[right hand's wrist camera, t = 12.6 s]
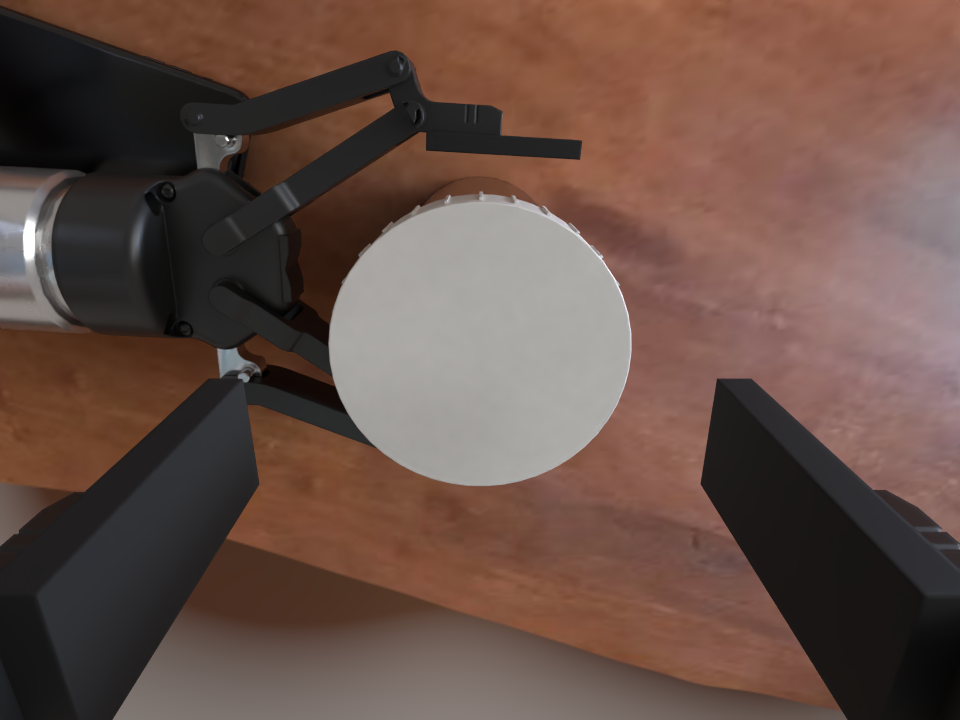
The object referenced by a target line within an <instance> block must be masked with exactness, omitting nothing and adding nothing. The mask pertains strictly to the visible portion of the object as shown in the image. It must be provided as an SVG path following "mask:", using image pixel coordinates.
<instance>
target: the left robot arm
mask: <svg viewBox="0 0 960 720" xmlns="http://www.w3.org/2000/svg"><path fill="white" fill-rule="evenodd" d="M388 93H390V95H391V98H392V101H393V104H394V107H395V108H394V109H392V110H391V111H389V112H388V113H386V114H385V115H383V116H382V117H380V118H379V119H377V120H376V121H374V122H373V123H371V124H370V125H368V126H367V127H365V128H364V129H362V130H360V131H359V132H357V133H356V134H354V135H353V136H351V137H350V138H348V139H347V140H345V141H344V142H342V143H341V144H339V145H338V146H336V147H335V148H333V149H332V150H330V151H329V152H327V153H326V154H324V155H323V156H321V157H320V158H318V159H317V160H315V161H314V162H312V163H310V164H309V165H307V166H306V167H304V168H303V169H301V170H300V171H298V172H297V173H295V174H294V175H292V176H291V177H289V178H288V179H286V180H285V181H283V182H281V183H279V184H277V185H275V186H274V187H272V188H270V189H269V190H267V191H266V192H264V193H263V194H261V193H260V192H259V191H257V190H256V189H255V188H253V187H252V186H251V185H249V184H248V183H247V182H246V181H244V180H243V179H242V178H240V177H239V176H238V175H236V174H235V173H234V172H232V171H231V170H229V169H228V162H229V160H230V158H231V157H232V156H234V155H236V154H240V153H243V152H245V151H246V150H247V148H248V146H249V135H259V134H266V133H270V132H274V131H277V130H280V129H283V128H286V127H289V126H292V125H295V124H298V123H301V122H304V121H307V120H310V119H313V118H316V117H319V116H322V115H325V114H328V113H331V112H334V111H337V110H340V109H343V108H346V107H349V106H352V105H355V104H358V103H361V102H364V101H367V100H370V99H373V98H376V97H379V96H382V95H385V94H388ZM502 113H503V111H501V110H499V109H497V108H495V107H493V106H488V105H472V104H456V103H439V102H432V101H429V100H428V99H427V98H426V97H425V96H424V94H423V92H422V90H421V87H420V84H419V81H418V77H417V74H416V68H415V66H414V64H413V63H412V62H411V61H410V60H409V59H408V57H407V56H405V55H404V54H403V53H402V52H399V51H390V52H387V53H384V54H381V55H378V56H375V57H372V58H369V59H366V60H363V61H360V62H358V63H355V64H352V65H349V66H346V67H343V68H340V69H337V70H334V71H331V72H328V73H325V74H323V75H320V76H317V77H314V78H311V79H308V80H305V81H302V82H299V83H296V84H293V85H290V86H288V87H285V88H282V89H279V90H276V91H273V92H270V93H267V94H264V95H261V96H258V97H256V98H253V99H250V100H247V101H244V102H241V103H238V104H235V105H226V104H210V103H187V104H186V105H184V106H183V108H182V109H181V111H180V119H181V122H182V124H183V126H184V127H185V128H186V129H187V130H188V131H190V132H192V133H194V142H195V151H196V160H197V169H196V170H194V171H192V172H191V173H189V174H187V175H184V176H169V175H152V174H135V173H118V172H92V173H89V174H86V173H83V172H80V171H78V170H67V169H48V168H30V167H11V166H0V329H15V330H31V331H46V332H61V333H90V332H93V331H94V332H97V333H100V334H105V335H121V336H140V337H159V338H194V339H198V340H201V341H203V342H206V343H208V344H209V345H211V346H213V347H215V348H217V353H218V362H219V371H220V379H243V383H244V389H245V395H246V402H247V404H248V405H260V406H263V407H266V408H269V409H271V410H274V411H277V412H279V413H282V414H285V415H288V416H290V417H293V418H296V419H299V420H301V421H304V422H307V423H309V424H312V425H315V426H318V427H320V428H323V429H326V430H329V431H331V432H334V433H337V434H339V435H342V436H345V437H348V438H350V439H353V440H356V441H359V442H361V443H364V444H367V445H369V446H372V447H375V446H374V445H373V444H372V443H371V442H370V441H369V440H368V439H367V438H366V437H365V435H364V434H363V433H362V432H361V431H360V430H359V429H358V427H357V426H356V425H355V423H354V422H353V420H352V419H351V417H350V416H349V414H348V413H347V411H346V409H345V407H344V405H343V403H342V401H341V399H340V397H339V394H338V391H337V389H336V387H335V386H332V385H329V384H327V383H324V382H321V381H319V380H316V379H313V378H311V377H308V376H305V375H303V374H300V373H298V372H295V371H292V370H289V369H286V368H283V367H279V366H275V365H267V364H266V361H265V358H264V357H262V356H257V355H254V354H252V353H250V352H249V351H248V350H247V349H246V348H245V346H244V343H245V342H247V341H248V340H250V339H251V338H253V337H254V336H256V335H257V334H258V335H260V336H262V337H263V338H265V339H266V340H268V341H269V342H271V343H272V344H274V345H275V346H277V347H279V348H280V349H282V350H284V351H291V352H295V353H297V354H298V355H300V356H301V357H303V358H304V359H306V360H307V361H309V362H310V363H312V364H314V365H315V366H317V367H318V368H320V369H321V370H323V371H324V372H326V373H327V374H329V375H330V376H332V377H333V375H332V371H331V366H330V359H329V344H328V343H329V329H330V324H328V323H327V322H325V321H324V320H322V319H321V318H320V317H319V315H318V313H317V312H316V311H315V310H314V309H313V308H311V307H310V306H308V305H307V304H305V303H304V302H302V301H301V300H299V297H300V295H301V294H302V293H303V292H304V289H303V276H302V273H301V270H300V266H299V263H298V257H299V252H300V248H301V232H300V229H296V226H295V224H294V222H293V220H292V219H291V217H290V216H291V215H293V214H295V213H296V212H298V211H299V210H301V209H302V208H304V207H305V206H307V205H308V204H310V203H311V202H313V201H314V200H315V199H317V198H318V197H320V196H322V195H323V194H325V193H326V192H328V191H329V190H331V189H332V188H334V187H335V186H337V185H339V184H340V183H342V182H343V181H345V180H346V179H348V178H349V177H351V176H353V175H354V174H356V173H357V172H359V171H360V170H362V169H363V168H365V167H366V166H368V165H370V164H371V163H373V162H374V161H376V160H377V159H379V158H380V157H382V156H384V155H385V154H387V153H388V152H390V151H391V150H393V149H394V148H396V147H397V146H399V145H401V144H402V143H404V142H405V141H407V140H408V139H410V138H411V137H413V136H415V135H416V134H418V133H419V132H427V134H426V151H443V152H460V153H477V154H493V155H510V156H527V157H544V158H561V159H577V160H580V156H581V147H582V141H580V140H568V139H551V138H534V137H518V136H501V129H502ZM375 448H377V447H375Z"/></svg>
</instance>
